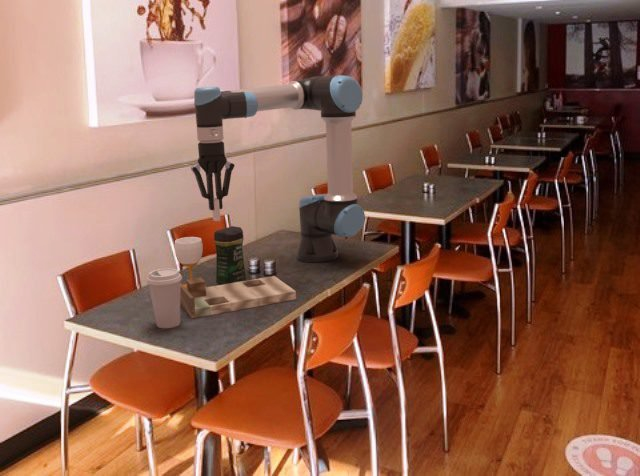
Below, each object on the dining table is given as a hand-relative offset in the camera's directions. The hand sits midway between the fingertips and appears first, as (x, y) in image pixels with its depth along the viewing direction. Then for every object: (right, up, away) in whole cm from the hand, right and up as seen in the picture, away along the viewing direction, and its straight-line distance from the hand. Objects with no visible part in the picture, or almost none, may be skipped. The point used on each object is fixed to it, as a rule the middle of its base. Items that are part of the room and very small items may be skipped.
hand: (216, 220), depth 204 cm
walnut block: (-6, -22, +1) cm, 23 cm away
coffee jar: (+2, -20, +20) cm, 28 cm away
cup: (-10, -22, +16) cm, 29 cm away
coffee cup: (-11, -29, -15) cm, 35 cm away
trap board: (+5, -24, +3) cm, 25 cm away
